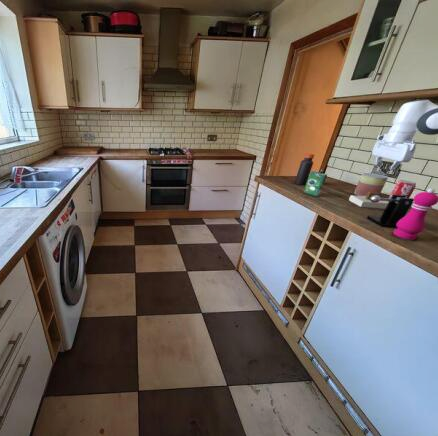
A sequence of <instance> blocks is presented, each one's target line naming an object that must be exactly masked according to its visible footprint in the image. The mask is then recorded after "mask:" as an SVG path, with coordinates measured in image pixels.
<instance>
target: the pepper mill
mask: <svg viewBox="0 0 438 436" xmlns="http://www.w3.org/2000/svg"><path fill="white" fill-rule="evenodd" d="M435 191H436V190H435V188H432V187H431V188H428V189H427V190H426V191H421V192H418V193H416V194H415V195H414V197H413V199H414V201H413V203H412V204H411V206H410V208H411V209H409V211H408V212H407V213H406V215H405V216H404V217H403V218H402V219H400V220H399V221H398V222H397V224H396V226H397V228H394V230H393V235H395V237H397V238H401V239H404V240H407V241H414V240H416V238H417V237H418V234H421V233H422V232H423V231H424V229H425V220H426V219H425V218H426V215H427V213H428V212H430V211H431V210H432V209H433V206H435V205H437V204H438V195H437V194H436V193H435Z"/></svg>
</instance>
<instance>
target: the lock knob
mask: <svg viewBox="0 0 438 436" xmlns="http://www.w3.org/2000/svg"><path fill="white" fill-rule="evenodd" d="M373 195H378V196H380V197H381V192H380V193H372V192H368V193H367V195H366V197H365V199H370V197H371V196H373Z"/></svg>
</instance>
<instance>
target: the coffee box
mask: <svg viewBox="0 0 438 436" xmlns="http://www.w3.org/2000/svg"><path fill="white" fill-rule="evenodd" d="M327 176H328V174H326V173H322V172H318V171H315V170H314V171H312V170H311V171H310V174H309V177H308V180H307V183H306V185H304V186H305V187H304V189H303V193H304V194H308V195H309V196H310V195H311V196H314V197H319V196H320V194H321V191H322V189H323V186H324V183H325V182H326V179H327Z"/></svg>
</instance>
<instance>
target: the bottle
mask: <svg viewBox="0 0 438 436" xmlns="http://www.w3.org/2000/svg"><path fill="white" fill-rule="evenodd" d="M314 158H315V154H313V153H305V154H304V159H303V160H301V161H300V164H299V167H298V171H297V173H296V177H295V180H294V184H295V185H298V186H306V184H307V181H308V178H309V175H310V173H311V171H312V169H313V165H314V161H313V160H314Z"/></svg>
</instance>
